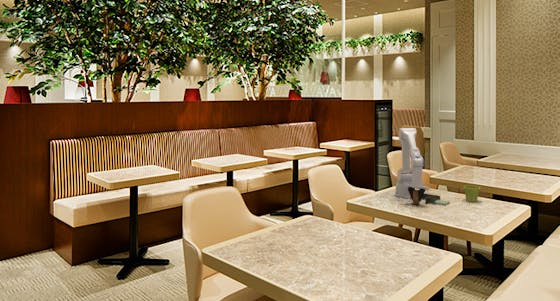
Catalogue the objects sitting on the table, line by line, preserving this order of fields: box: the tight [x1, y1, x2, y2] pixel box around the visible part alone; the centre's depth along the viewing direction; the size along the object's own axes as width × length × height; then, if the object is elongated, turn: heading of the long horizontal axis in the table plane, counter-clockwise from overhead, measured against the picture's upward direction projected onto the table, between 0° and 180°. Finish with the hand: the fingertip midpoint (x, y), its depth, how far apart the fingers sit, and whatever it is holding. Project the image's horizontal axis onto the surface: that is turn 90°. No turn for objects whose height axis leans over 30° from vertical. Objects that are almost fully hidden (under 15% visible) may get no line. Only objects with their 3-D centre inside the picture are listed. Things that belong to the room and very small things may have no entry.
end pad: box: [434, 199, 451, 206], centre depth 255 cm, size 7×7×1 cm
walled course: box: [421, 192, 441, 205], centre depth 260 cm, size 12×11×4 cm
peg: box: [412, 189, 421, 205], centre depth 253 cm, size 4×4×8 cm
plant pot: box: [463, 185, 481, 203], centre depth 260 cm, size 9×9×9 cm
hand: (416, 200), depth 253 cm, fingers closed on peg, 4 cm apart
